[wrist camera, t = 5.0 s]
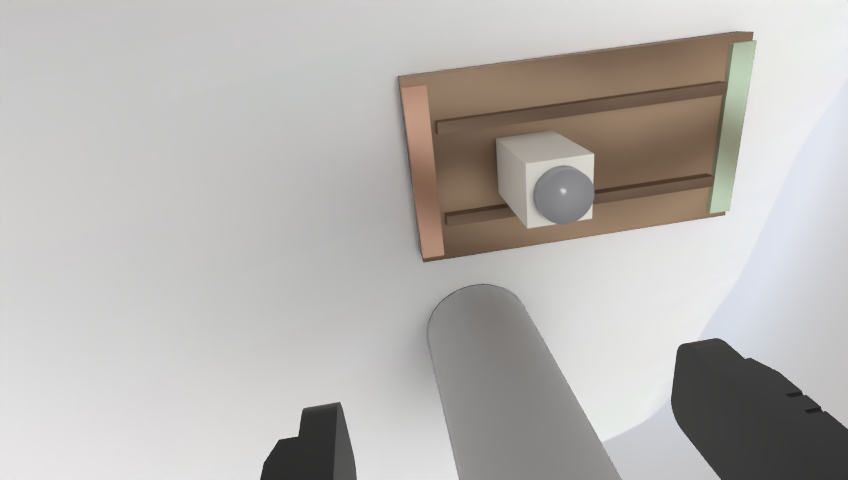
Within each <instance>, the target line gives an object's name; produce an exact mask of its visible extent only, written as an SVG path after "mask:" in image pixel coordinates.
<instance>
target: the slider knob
mask: <svg viewBox="0 0 848 480" xmlns="http://www.w3.org/2000/svg"><path fill="white" fill-rule="evenodd" d="M496 154H497V173H498V192H499V194H500V196H501V197H502V198H503V199H504V200H505V202H506V203H507V204H508V205H509V207H510V208H511V209H512V210H513V212H514V213H515V214H516V215H517V216H518V218H519V219H520V220H521V221H522V223H523V224H524V225H525V226H526V228H527V229H528V228H535V227H541V226H548V225H554V224H570V223H573V222H575V221H580V220H586V219H592V207H593V200H594V194H595V193H594V186H593V177H594V153H592V152H590V151H589V150H587V149H585V148H583V147H581V146H580V145H578V144H576V143H574V142H572V141H571V140H569V139H567V138H565V137H564V136H562V135H560V134H558V133H556V132H555V131H553V130H550V131H543V132H536V133H529V134H522V135H515V136H508V137H501V138H496Z"/></svg>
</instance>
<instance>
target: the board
mask: <svg viewBox="0 0 848 480" xmlns="http://www.w3.org/2000/svg"><path fill="white" fill-rule="evenodd" d="M752 39H753V32H739V31H736V32H729V33H721V34H714V35H706V36H699V37H691V38H684V39H676V40H668V41H661V42H653V43H646V44H638V45H631V46H623V47H616V48H608V49H601V50H593V51H586V52H578V53H570V54H563V55H555V56H548V57H540V58H533V59H525V60H518V61H510V62H503V63H495V64H487V65H480V66H472V67H465V68H457V69H450V70H442V71H435V72H427V73H420V74H412V75H404V76H398V79H399V87H400V94H401V102H402V110H403V117H404V125H405V133H406V141H407V148H408V156H409V164H410V172H411V179H412V187H413V195H414V202H415V210H416V218H417V226H418V233H419V241H420V249H421V255H422V259H423V262H429V261H436V260H442V259H449V258H455V257H461V256H468V255H474V254H480V253H487V252H493V251H500V250H506V249H512V248H519V247H525V246H531V245H538V244H544V243H550V242H557V241H563V240H570V239H576V238H582V237H589V236H595V235H601V234H608V233H614V232H621V231H627V230H633V229H640V228H646V227H652V226H659V225H665V224H672V223H678V222H684V221H691V220H697V219H703V218H710V217H716V216H723V215H725V211H729V210H730V204H731V198H732V191H733V185H734V179H735V173H736V166H737V160H738V154H739V148H740V141H741V135H742V129H743V123H744V116H745V110H746V104H747V97H748V91H749V85H750V79H751V72H752V66H753V60H754V54H755V47H756V41H755V40H752ZM550 130H553V131H555V132H556V133H558V134H560V135H562V136H564V137H565V138H567V139H569V140H571V141H572V142H574V143H576V144H578V145H580V146H581V147H583V148H585V149H587V150H589V151H590V152H592V153H594V177H593V186H594V193H595V194H594V200H593V207H592V219H586V220H580V221H575V222H573V223H570V224H554V225H548V226H541V227H535V228H528V229H527V228H526V226H525V225H524V224H523V223H522V221H521V220H520V219H519V218H518V216H517V215H516V214H515V213H514V212H513V210H512V209H511V208H510V207H509V205H508V204H507V203H506V202H505V200H504V199H503V198H502V197H501V196H500V194H499V192H498V173H497V154H496V138H501V137H508V136H515V135H522V134H529V133H536V132H543V131H550Z"/></svg>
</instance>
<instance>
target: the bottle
mask: <svg viewBox="0 0 848 480" xmlns="http://www.w3.org/2000/svg"><path fill="white" fill-rule="evenodd" d="M428 343H429V346H430V351H431V356H432V362H433V367H434V372H435V376H436V381H437V385H438V389H439V394H440V398H441V403H442V407H443V411H444V416H445V420H446V424H447V429H448V433H449V438H450V442H451V446H452V451H453V455H454V459H455V464H456V468H457V472H458V477H459V480H622V479H621V477H620V475H619V474H618V472H617V470H616V469H615V467H614V465H613V463H612V461H611V459H610V458H609V456H608V454H607V452H606V451H605V449H604V447H603V445H602V443H601V442H600V440H599V438H598V436H597V434H596V433H595V431H594V429H593V427H592V425H591V424H590V422H589V420H588V418H587V417H586V415H585V413H584V411H583V409H582V408H581V406H580V404H579V402H578V401H577V399H576V397H575V395H574V393H573V392H572V390H571V388H570V386H569V384H568V383H567V381H566V379H565V377H564V376H563V374H562V372H561V370H560V368H559V367H558V365H557V363H556V361H555V359H554V358H553V356H552V354H551V352H550V351H549V349H548V347H547V345H546V343H545V342H544V340H543V338H542V336H541V335H540V333H539V331H538V330H537V328H536V326H535V325H534V323H533V321H532V319H531V318H530V316H529V314H528V313H527V311H526V309H525V307H524V305H523V304H522V303H521V302H520V300H519V299H518V298H517V297H516V296H515V295H514V294H513V293H511V292H509V291H508V290H506V289H504V288H501V287H498V286H494V285H484V284H483V285H474V286H469V287H465V288H462V289H460V290H458V291H456V292H454V293H452V294H451V295H449V296H448V297H446V298H445V299H444V300H443V301H442V302H441V303H440V304H439V305H438V306H437V307H436V309H435V310H434V312H433V314H432V315H431V318H430V321H429V324H428Z"/></svg>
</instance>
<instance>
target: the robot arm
mask: <svg viewBox="0 0 848 480" xmlns="http://www.w3.org/2000/svg"><path fill="white" fill-rule="evenodd" d="M671 405H672V410H673V413H674V416H675V419H676V421H677V423H678V425H679V426H680V428H681V429H682V431H683V432H684V433H685V434H686V436H687V437H688V438H689V440H690V441H691V442H692V443H693V445H694V446H695V447H696V449H697V450H698V451H699V452H700V453H701V455H702V456H703V457H704V459H705V460H706V461H707V462H708V464H709V465H710V466H711V467H712V468H713V470H714V471H715V472H716V474H717V475H718V476H719V477H720V478H721V480H848V429H847V428H846V427H844V426H843V425H842V424H841V423H840V422H838V421H837V420H836V419H835V418H834V417H832V416H831V415H830V414H829V413H828V412H826V411H824V412H823V411H822V410H821V407H820V406H819V405H818V404H817V403H816V402H814V401H813V400H812V399H810V397H808V396H807V395H803V394H802V391H801V390H800V389H799V388H798V387H796V386H795V385H794V384H793V383H791V382H790V381H789V380H788V379H787V378H785V377H784V376H783V375H782V374H781V373H779V372H778V371H776V370H773V369H772V368H770V367H768V366H766V365H764V364H762V363H760V362H758V361H756V360H754V359H752V358H747V359H744V358H743V357H742V356H741V355H740V354H739V353H738V352H736V351H735V350H734V349H733V348H732V347H731V346H729V345H728V344H727V343H726V342H725V341H723V340H721V339H718V338H714V339H708V340H703V341H697V342H691V343H685V344H682V345H680V346H679V348H678V350H677V355H676V363H675V371H674V379H673V387H672V395H671ZM260 480H357V477H356V467H355V460H354V455H353V450H352V446H351V442H350V438H349V434H348V430H347V425H346V421H345V417H344V413H343V409H342V406H341V403H340V402H337V403H332V404H326V405H320V406H314V407H308V408H304V409H303V411H302V416H301V422H300V429H299V436H298V437H292V438H287V439H281V440H279V441H278V442H277V444H276V445H275V447H274V448H273V450H272V452H271V453H270V455H269V456H268V458H267V459H266V461H265V462H264V465H263V469H262V474H261V479H260Z"/></svg>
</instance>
